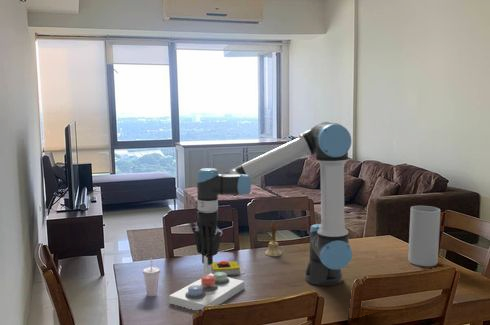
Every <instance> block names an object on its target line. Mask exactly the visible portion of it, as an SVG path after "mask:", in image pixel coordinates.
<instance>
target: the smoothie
mask: <svg viewBox="0 0 490 325" xmlns="http://www.w3.org/2000/svg"><path fill="white" fill-rule="evenodd" d="M160 273H161V269H160V268H159V267H157V266H153V258H152V257H150V266H149V267H145V268H144V269H142V274H143V278H144V284H145V290H146V296H148V297H155V296H157V295H158V287H159V280H160V278H159V277H160Z"/></svg>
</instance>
